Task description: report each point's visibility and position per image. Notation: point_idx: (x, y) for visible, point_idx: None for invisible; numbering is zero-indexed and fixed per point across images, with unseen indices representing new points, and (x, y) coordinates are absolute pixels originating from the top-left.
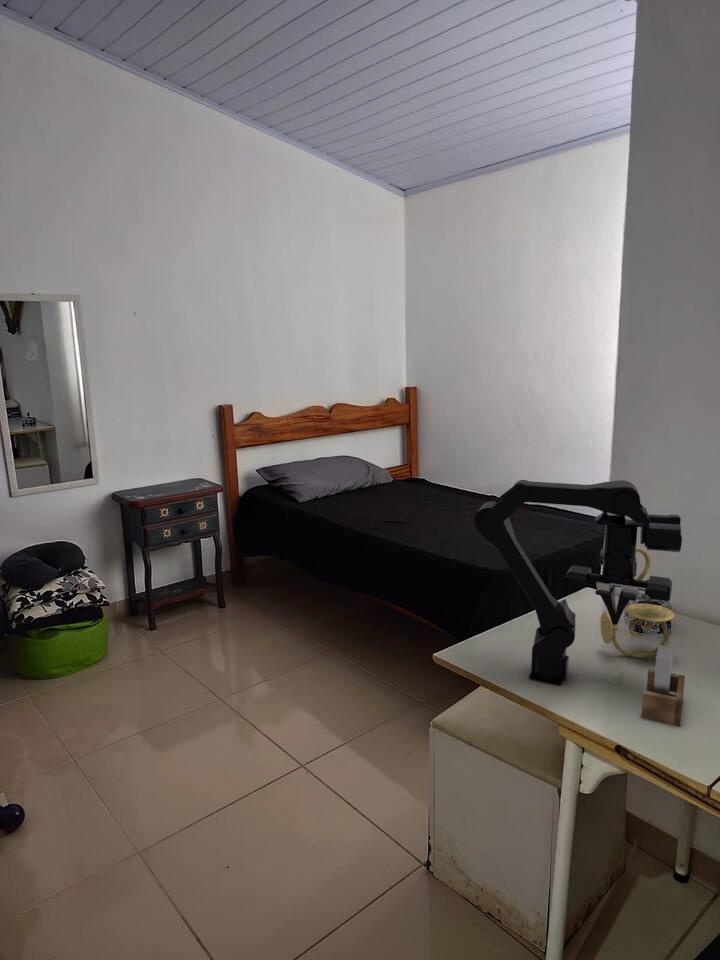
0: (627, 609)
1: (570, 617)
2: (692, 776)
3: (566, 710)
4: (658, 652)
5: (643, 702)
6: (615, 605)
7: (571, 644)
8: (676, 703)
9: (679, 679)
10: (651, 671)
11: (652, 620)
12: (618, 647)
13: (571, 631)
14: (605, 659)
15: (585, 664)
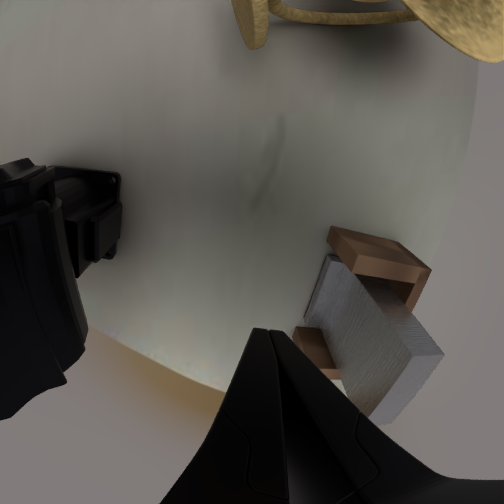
0: None
1: (15, 344)
2: None
3: (148, 344)
4: (382, 403)
5: None
6: (281, 425)
7: (86, 320)
8: None
9: (412, 293)
10: (360, 270)
11: (466, 54)
12: (285, 17)
13: (65, 369)
14: (239, 43)
15: (172, 95)
